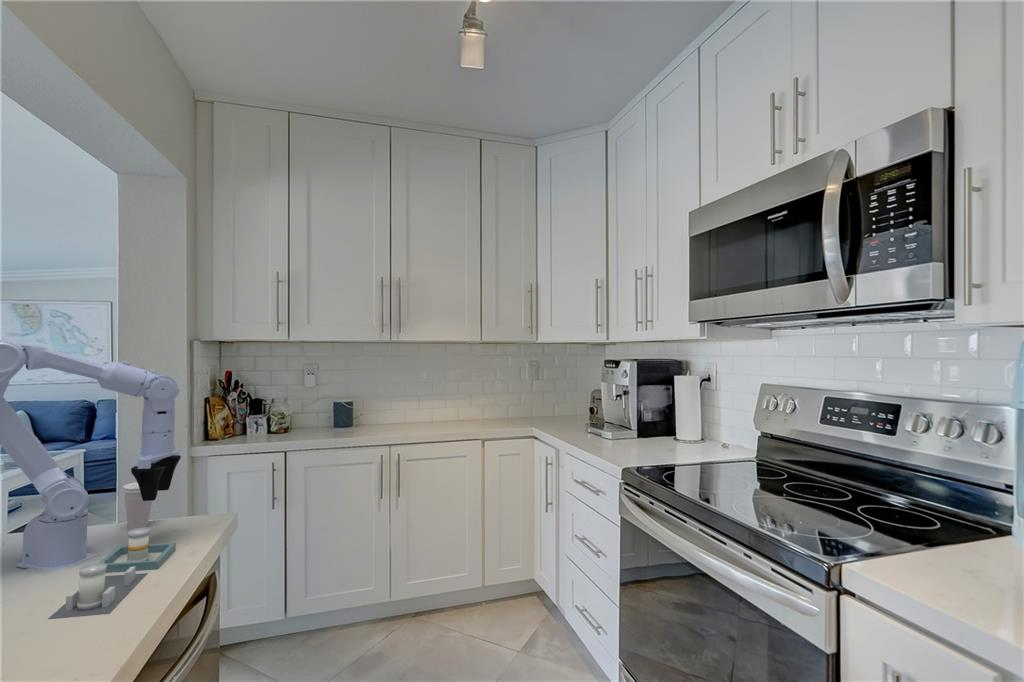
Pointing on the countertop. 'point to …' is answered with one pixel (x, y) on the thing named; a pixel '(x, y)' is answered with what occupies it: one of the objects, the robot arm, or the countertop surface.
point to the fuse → (91, 586)
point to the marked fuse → (138, 544)
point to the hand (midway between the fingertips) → (156, 495)
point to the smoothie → (136, 507)
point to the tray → (140, 565)
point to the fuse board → (112, 596)
